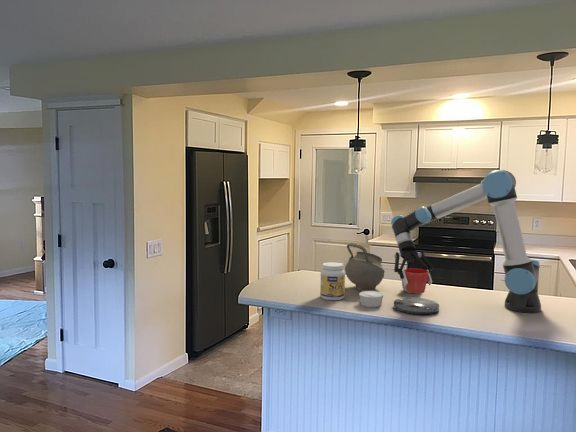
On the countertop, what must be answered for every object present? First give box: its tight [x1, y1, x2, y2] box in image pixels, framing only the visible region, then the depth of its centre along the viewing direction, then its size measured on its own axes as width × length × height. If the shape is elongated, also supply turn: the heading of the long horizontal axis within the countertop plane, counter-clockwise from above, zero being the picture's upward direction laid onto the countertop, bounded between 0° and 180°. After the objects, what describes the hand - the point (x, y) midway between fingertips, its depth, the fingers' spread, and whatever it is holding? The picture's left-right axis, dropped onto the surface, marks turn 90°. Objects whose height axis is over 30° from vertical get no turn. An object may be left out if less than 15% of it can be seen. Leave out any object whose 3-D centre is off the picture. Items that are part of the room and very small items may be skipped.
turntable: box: [393, 296, 440, 315], centre depth 214 cm, size 20×20×2 cm
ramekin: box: [358, 290, 384, 308], centre depth 221 cm, size 11×11×5 cm
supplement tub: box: [319, 261, 346, 301], centre depth 232 cm, size 12×12×17 cm
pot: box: [344, 242, 386, 292], centre depth 248 cm, size 21×21×25 cm
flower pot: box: [403, 267, 429, 294], centre depth 213 cm, size 11×11×10 cm
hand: (418, 284), depth 211 cm, fingers closed on flower pot, 11 cm apart
